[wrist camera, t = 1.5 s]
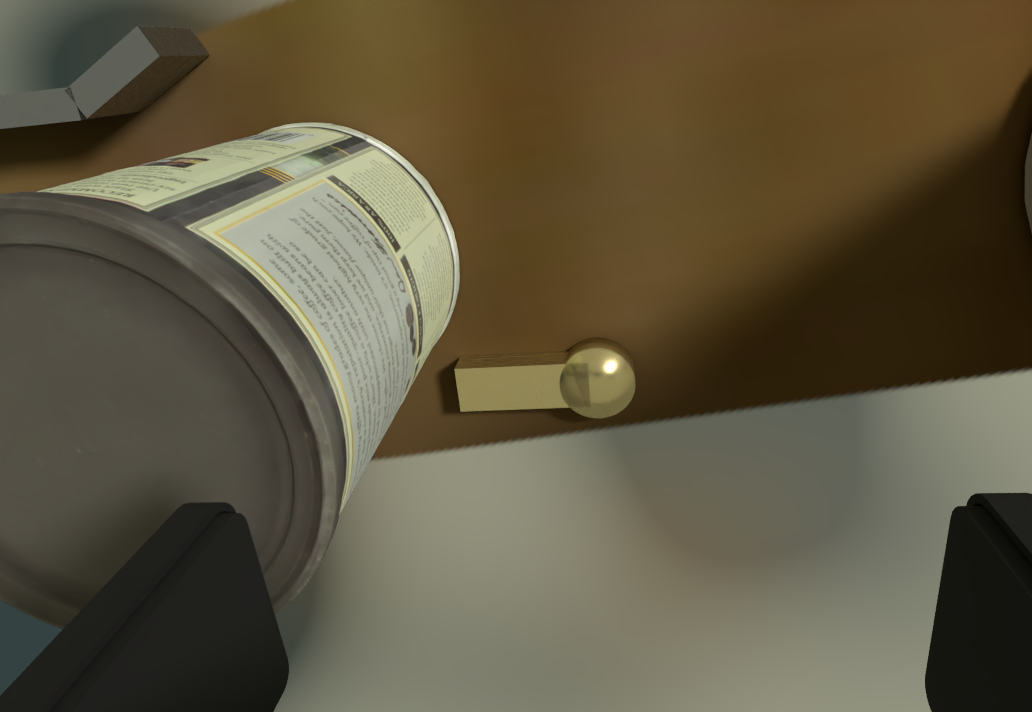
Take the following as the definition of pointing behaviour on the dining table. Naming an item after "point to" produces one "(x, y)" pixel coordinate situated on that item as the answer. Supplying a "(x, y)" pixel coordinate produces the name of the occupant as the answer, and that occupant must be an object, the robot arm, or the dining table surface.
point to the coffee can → (208, 350)
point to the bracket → (112, 80)
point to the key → (550, 380)
